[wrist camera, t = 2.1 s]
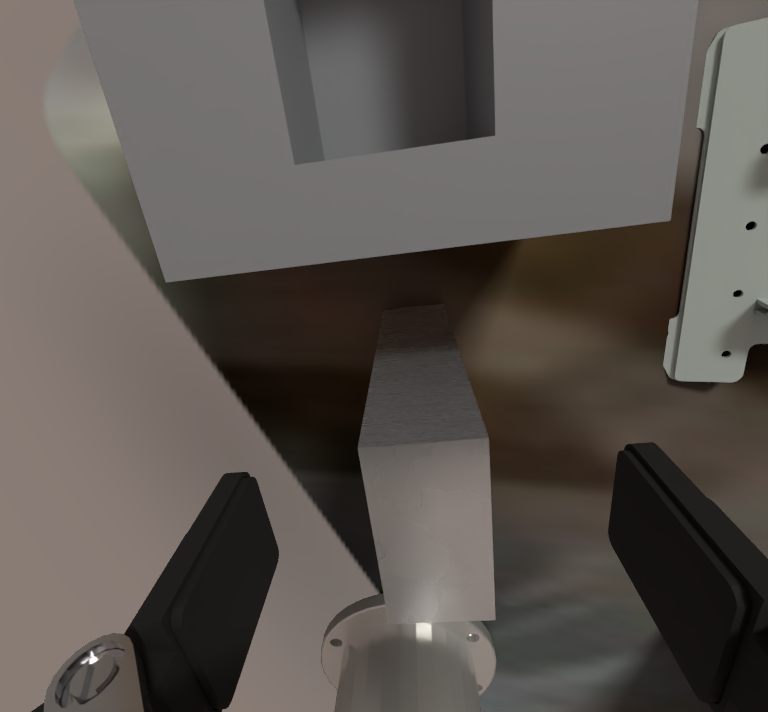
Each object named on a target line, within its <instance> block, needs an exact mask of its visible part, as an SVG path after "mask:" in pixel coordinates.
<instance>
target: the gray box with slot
mask: <svg viewBox="0 0 768 712" xmlns="http://www.w3.org/2000/svg"><path fill="white" fill-rule="evenodd" d="M698 1H699V0H74V3H75V6H76V9H77V12H78V15H79V18H80V21H81V24H82V28H83V31H84V34H85V37H86V40H87V43H88V46H89V49H90V52H91V55H92V58H93V61H94V64H95V67H96V70H97V73H98V77H99V80H100V83H101V86H102V89H103V92H104V95H105V98H106V101H107V104H108V107H109V110H110V113H111V116H112V119H113V122H114V125H115V129H116V132H117V135H118V138H119V141H120V144H121V147H122V150H123V153H124V156H125V159H126V162H127V165H128V168H129V171H130V174H131V178H132V181H133V184H134V187H135V190H136V193H137V196H138V199H139V202H140V205H141V208H142V211H143V214H144V217H145V220H146V223H147V226H148V230H149V233H150V236H151V239H152V242H153V245H154V248H155V251H156V254H157V257H158V260H159V263H160V266H161V269H162V272H163V275H164V278H165V282H174V281H182V280H191V279H199V278H207V277H215V276H223V275H231V274H239V273H248V272H256V271H264V270H272V269H280V268H288V267H297V266H305V265H313V264H321V263H329V262H337V261H345V260H354V259H362V258H370V257H378V256H386V255H394V254H403V253H411V252H419V251H427V250H435V249H443V248H451V247H460V246H468V245H476V244H484V243H492V242H500V241H508V240H517V239H525V238H533V237H541V236H549V235H557V234H566V233H574V232H582V231H590V230H598V229H606V228H614V227H623V226H631V225H639V224H647V223H655V222H663V221H670V220H671V212H672V204H673V197H674V189H675V181H676V173H677V165H678V157H679V150H680V142H681V134H682V126H683V118H684V110H685V103H686V95H687V87H688V79H689V71H690V64H691V56H692V48H693V40H694V32H695V24H696V17H697V9H698Z"/></svg>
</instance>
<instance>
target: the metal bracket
mask: <svg viewBox="0 0 768 712" xmlns="http://www.w3.org/2000/svg"><path fill="white" fill-rule="evenodd" d="M696 128H701V129H702V130H703V132H704V139H703V146H702V153H701V160H700V167H699V174H698V181H697V188H696V195H695V203H694V210H693V217H692V224H691V231H690V238H689V245H688V252H687V259H686V266H685V273H684V280H683V287H682V294H681V301H680V308H679V313H678V315H677V316H676V317H675V318H672V319H670V320H669V328H668V332H669V334H668V336H667V342H666V349H665V356H664V363H663V366H664V368H665V370H666V372H667V374H668V376H669V377H670V378H671V379H675V380H678V381H693V382H736V381H737V380H739V379H740V378H742V376H743V374H744V369H745V364H746V360H747V355H748V351H749V349H750V347H752V346H753V345H755V344H768V152H767V153H766V154H762V153H761V152H760V149H761V147H762V146H763V145H765V144H768V18H764V19H759V20H755V21H750V22H746V23H742V24H737V25H734V26H732V27H729V28H725V29H723V30H722V31H720V32H719V33H718V34H717V35H716V37H715V38H714V40H713V42H712V44H711V45H710V47H709V49H708V51H707V55H706V62H705V69H704V77H703V84H702V91H701V98H700V105H699V112H698V120H697V127H696ZM751 221H753V222H754V223H755V226H754V228H752V229H751V230H747V229H746V225H747V224H748V223H749V222H751ZM736 290H741V292H742V293H741V295H740V296H738V297H733V293H734V292H735V291H736ZM724 351H730V354H729V355H728V356H725V357H724V356H722V353H723V352H724Z"/></svg>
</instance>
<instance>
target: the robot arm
mask: <svg viewBox="0 0 768 712" xmlns="http://www.w3.org/2000/svg"><path fill="white" fill-rule="evenodd" d="M608 534H609V539H610V542H611V545H612V547H613V549H614V551H615V552H616V554H617V556H618V558H619V559H620V561H621V563H622V565H623V567H624V568H625V570H626V572H627V574H628V576H629V577H630V579H631V581H632V583H633V584H634V586H635V588H636V590H637V592H638V593H639V595H640V597H641V599H642V600H643V602H644V604H645V606H646V608H647V609H648V611H649V613H650V615H651V616H652V618H653V620H654V622H655V624H656V625H657V627H658V629H659V631H660V632H661V634H662V636H663V638H664V640H665V641H666V643H667V645H668V647H669V648H670V650H671V652H672V654H673V656H674V657H675V659H676V661H677V663H678V665H679V666H680V668H681V670H682V672H683V673H684V675H685V677H686V679H687V681H688V682H689V684H690V686H691V688H692V689H693V691H694V693H695V694H696V696H697V697H698V698H699V699H700V700H701V701H702V702H708V703H709V705H710V706H711V708H712V710H713V712H768V559H767V558H766V557H765V556H764V554H763V553H762V552H761V551H760V550H759V549H758V548H757V547H756V546H755V545H754V544H753V543H752V542H751V541H750V540H749V539H748V538H747V537H746V536H745V535H744V533H743V532H742V531H741V530H740V529H739V528H738V527H737V526H736V525H735V524H734V523H733V522H732V521H731V520H730V519H729V518H728V517H727V516H726V515H725V514H724V512H723V511H722V510H721V509H720V508H719V507H718V506H717V505H716V504H715V503H714V502H712V501H711V500H710V499H709V498H707V497H706V496H705V495H704V494H703V493H702V492H701V491H700V490H699V489H698V488H697V487H696V486H695V485H694V484H693V483H692V481H691V480H690V479H689V478H688V477H687V476H686V475H685V474H684V473H683V472H682V471H681V470H680V469H679V468H678V467H677V466H676V465H675V463H674V462H673V461H672V460H671V459H670V458H669V457H668V456H667V455H666V454H665V453H664V452H663V451H662V450H661V449H660V448H659V447H658V446H657V445H656V444H655V443H652V442H650V443H637V444H628V445H626V446H625V449H624V450H623V451H619V453H618V456H617V464H616V472H615V480H614V488H613V496H612V504H611V512H610V520H609V528H608ZM278 556H279V550H278V546H277V543H276V540H275V537H274V533H273V530H272V527H271V524H270V521H269V518H268V515H267V512H266V508H265V505H264V502H263V499H262V496H261V493H260V490H259V486H258V483H257V480H256V479H255V478H254V477H250V475H249V474H248V472H239V473H226V474H224V475H223V476H222V478H221V479H220V481H219V483H218V484H217V486H216V487H215V489H214V491H213V492H212V494H211V496H210V497H209V499H208V500H207V502H206V504H205V506H204V507H203V509H202V510H201V512H200V514H199V515H198V517H197V518H196V520H195V522H194V523H193V525H192V527H191V528H190V530H189V531H188V533H187V534H186V535H185V537H184V538H183V540H182V541H181V543H180V545H179V546H178V548H177V550H176V551H175V553H174V554H173V556H172V558H171V559H170V561H169V562H168V564H167V566H166V567H165V569H164V571H163V572H162V574H161V576H160V577H159V579H158V580H157V582H156V584H155V585H154V587H153V588H152V590H151V592H150V593H149V595H148V597H147V598H146V600H145V601H144V603H143V605H142V606H141V608H140V609H139V611H138V613H137V614H136V616H135V618H134V619H133V621H132V623H131V624H130V626H129V627H128V629H127V631H126V632H125V634H116V633H113V634H109V635H105V636H101V637H99V638H97V639H95V640H93V641H91V642H89V643H88V644H87V645H85V646H83V647H82V648H81V649H79V650H78V651H76V652H75V653H74V654H73V655H72V656H71V657H70V658H69V659H68V660H67V661H66V662H65V663H64V664H63V665H62V667H61V668H60V669H59V670H58V672H57V673H56V674H55V676H54V677H53V679H52V681H51V683H50V685H49V687H48V689H47V692H46V696H45V701H44V703H43V704H42V705H40V706H39V707H37V708H36V709H35V710H33V711H32V712H222V709H226V708H227V707H229V705H230V703H231V701H232V698H233V695H234V692H235V689H236V686H237V683H238V680H239V677H240V674H241V671H242V668H243V665H244V662H245V659H246V656H247V653H248V650H249V647H250V644H251V641H252V638H253V635H254V632H255V629H256V626H257V623H258V620H259V617H260V614H261V611H262V608H263V605H264V602H265V599H266V596H267V593H268V590H269V587H270V584H271V581H272V578H273V575H274V572H275V569H276V566H277V563H278V558H279V557H278ZM321 663H322V666H323V670H324V673H325V675H326V676H327V678H328V680H329V681H330V683H331V684H332V685H333V686H334V687H335V688H336V689H337V698H336V705H335V712H481V705H480V698H479V696H480V695H481V694H482V693H483V692H484V691H485V690H486V688H487V687H488V686H489V685H490V683H491V681H492V679H493V677H494V674H495V670H496V656H495V650H494V645H493V642H492V639H491V636H490V633H489V632H488V630H487V629H486V627H485V626H484V624H483V623H482V622H481V621H458V622H432V623H405V624H389V622H388V616H387V610H386V605H385V599H384V594H378V595H375V596H371V597H368V598H365V599H362V600H360V601H358V602H356V603H354V604H352V605H350V606H348V607H346V608H345V609H344V610H342V611H341V612H340V613H339V614H337V615H336V617H335V618H334V619H333V620H332V621H331V623H330V624H329V626H328V628H327V630H326V632H325V634H324V639H323V644H322V649H321Z"/></svg>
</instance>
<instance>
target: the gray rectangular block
mask: <svg viewBox="0 0 768 712" xmlns="http://www.w3.org/2000/svg"><path fill="white" fill-rule="evenodd" d="M358 454H359V459H360V465H361V470H362V476H363V482H364V487H365V493H366V498H367V504H368V510H369V515H370V521H371V526H372V532H373V538H374V543H375V549H376V554H377V560H378V566H379V571H380V577H381V582H382V588H383V594H384V599H385V605H386V610H387V616H388V622H389V624H405V623H432V622H458V621H485V620H495V594H494V567H493V539H492V511H491V484H490V456H489V437H488V434H487V431H486V428H485V425H484V422H483V419H482V417H481V414H480V411H479V408H478V405H477V402H476V399H475V396H474V393H473V390H472V387H471V384H470V382H469V379H468V376H467V373H466V370H465V367H464V364H463V361H462V358H461V355H460V352H459V349H458V346H457V344H456V341H455V338H454V335H453V332H452V329H451V326H450V323H449V320H448V317H447V314H446V311H445V309H444V306H443V303H442V304H433V305H424V306H414V307H405V308H396V309H387V310H383V315H382V320H381V326H380V331H379V336H378V342H377V347H376V352H375V358H374V363H373V368H372V374H371V379H370V384H369V390H368V395H367V400H366V406H365V411H364V417H363V422H362V427H361V433H360V438H359V443H358Z"/></svg>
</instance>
